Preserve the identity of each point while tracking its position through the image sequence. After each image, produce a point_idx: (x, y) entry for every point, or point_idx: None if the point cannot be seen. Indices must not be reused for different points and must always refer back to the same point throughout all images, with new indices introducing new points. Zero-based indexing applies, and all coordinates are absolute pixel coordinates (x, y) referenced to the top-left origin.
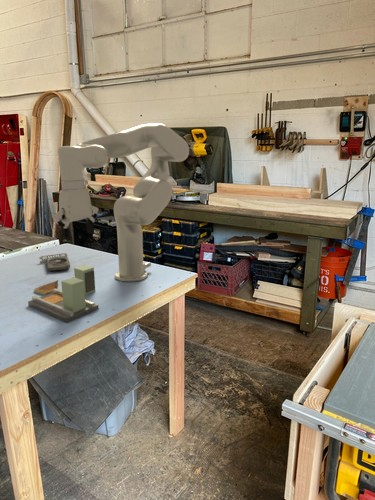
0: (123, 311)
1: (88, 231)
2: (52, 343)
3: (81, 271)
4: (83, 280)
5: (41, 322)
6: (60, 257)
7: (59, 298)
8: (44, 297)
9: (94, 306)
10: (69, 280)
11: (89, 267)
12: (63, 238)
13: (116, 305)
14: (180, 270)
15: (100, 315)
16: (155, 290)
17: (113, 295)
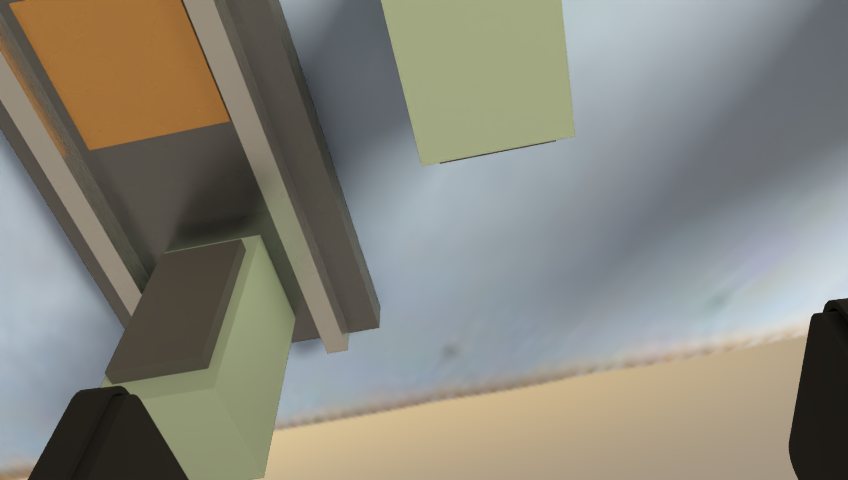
0: (476, 394)
1: (820, 387)
2: None
3: (414, 127)
4: (262, 475)
5: (18, 264)
6: None
7: (174, 86)
8: None
9: (348, 332)
10: (159, 428)
11: (538, 106)
12: (85, 402)
13: (494, 323)
14: None
15: (350, 368)
16: (844, 289)
17: (583, 192)
